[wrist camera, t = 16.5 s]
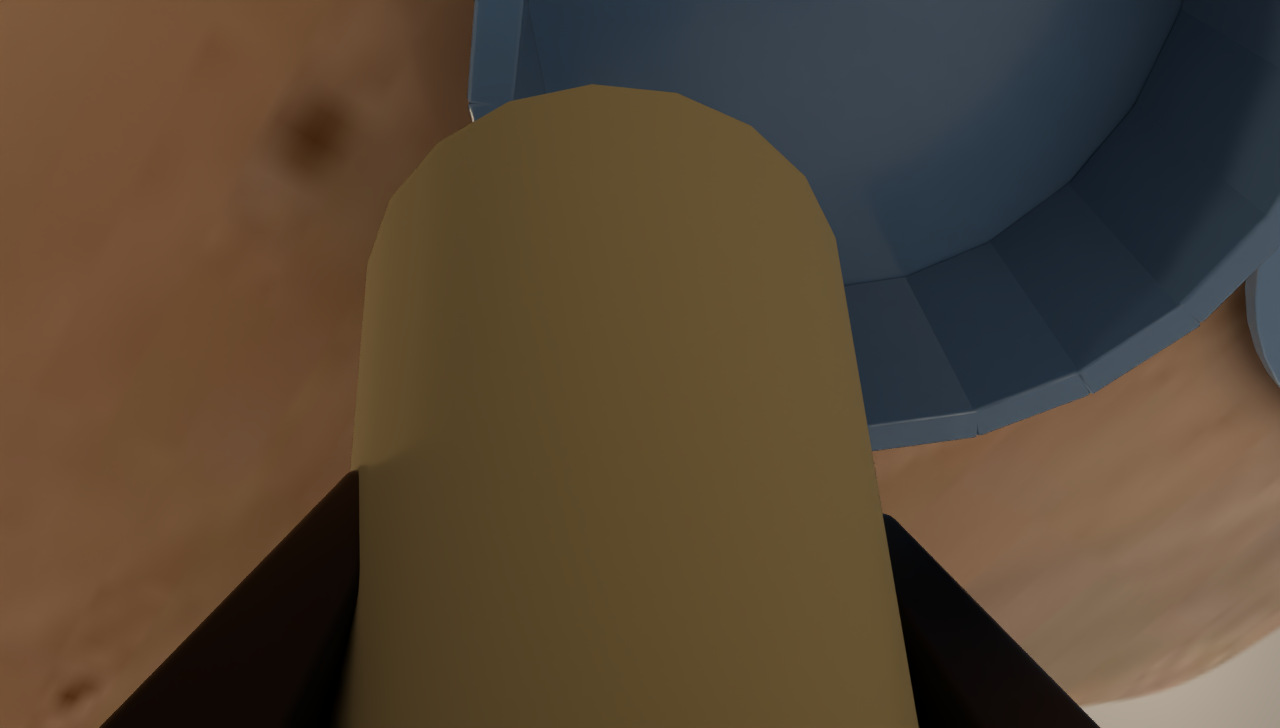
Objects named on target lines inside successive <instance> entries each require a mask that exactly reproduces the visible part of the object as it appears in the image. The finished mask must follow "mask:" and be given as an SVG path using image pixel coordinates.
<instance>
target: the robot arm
mask: <svg viewBox="0 0 1280 728" xmlns="http://www.w3.org/2000/svg"><path fill="white" fill-rule="evenodd" d="M883 520H884V526H885V532H886V538H887V543H888V549H889V555H890V561H891V567H892V573H893V579H894V585H895V591H896V597H897V602H898V608H899V614H900V620H901V626H902V632H903V638H904V644H905V650H906V655H907V661H908V667H909V673H910V679H911V685H912V691H913V697H914V703H915V709H916V714H917V720H918V726H919V728H1100V727H1099V726H1098V725H1097V724H1096V723H1095V722H1094V721H1093V720H1092V719H1091V718H1090V717H1089V716H1088V715H1087V714H1086V713H1085V712H1084V711H1083V710H1082V709H1081V708H1080V707H1079V706H1078V705H1077V704H1076V703H1075V702H1074V701H1073V700H1072V699H1071V698H1070V696H1069V695H1068V694H1067V693H1066V692H1065V691H1064V690H1063V689H1062V688H1061V687H1060V686H1059V685H1058V684H1057V683H1056V682H1055V681H1054V680H1053V679H1052V678H1051V677H1050V676H1049V675H1048V674H1047V673H1046V672H1045V671H1044V670H1043V669H1042V668H1041V667H1040V666H1039V665H1038V664H1037V663H1036V662H1035V661H1034V660H1033V659H1032V658H1031V657H1030V656H1029V655H1028V654H1027V653H1026V652H1025V651H1024V650H1023V649H1022V648H1021V647H1020V646H1019V645H1018V644H1017V643H1016V642H1015V641H1014V640H1013V639H1012V638H1011V637H1010V636H1009V635H1008V634H1007V633H1006V632H1005V630H1004V629H1003V628H1002V627H1001V626H1000V625H999V624H998V623H997V622H996V621H995V620H994V619H993V618H992V617H991V616H990V615H989V614H988V613H987V612H986V611H985V610H984V609H983V608H982V607H981V606H980V605H979V604H978V603H977V602H976V601H975V600H974V599H973V598H972V597H971V596H970V595H969V594H968V593H967V592H966V591H965V590H964V589H963V588H962V587H961V586H960V585H959V584H958V583H957V582H956V581H955V580H954V579H953V578H952V577H951V576H950V575H949V574H948V573H947V572H946V571H945V570H944V569H943V568H942V567H941V566H940V564H939V563H938V562H937V561H936V560H935V559H934V558H933V557H932V556H931V555H930V554H929V553H928V552H927V551H926V550H925V549H924V548H923V547H922V546H921V545H920V544H919V543H918V542H917V541H916V540H915V539H914V538H913V537H912V536H911V535H910V534H909V533H908V532H907V531H906V530H905V529H904V528H903V527H902V526H901V525H900V524H899V523H898V522H897V521H896V520H895V519H894V518H892V517H891V516H889V515H886V514H883ZM359 576H360V534H359V471H358V470H353V471H351V472H349V473H348V474H346V475H345V476H344V477H343V478H342V480H341V481H340V482H339V483H338V484H337V485H336V486H335V487H334V488H333V489H332V490H331V491H330V492H329V493H328V494H327V495H326V496H325V497H324V498H323V499H322V500H321V501H320V502H319V503H318V504H317V505H316V506H315V507H314V508H313V509H312V510H311V511H310V512H309V513H308V514H307V515H306V516H305V517H304V518H303V519H302V521H301V522H300V523H299V524H298V525H297V526H296V527H295V528H294V529H293V530H292V531H291V532H290V533H289V534H288V535H287V536H286V537H285V538H284V539H283V540H282V541H281V542H280V543H279V544H278V545H277V546H276V547H275V548H274V549H273V550H272V551H271V552H270V553H269V554H268V555H267V556H266V557H265V558H264V559H263V560H262V562H261V563H260V564H259V565H258V566H257V567H256V568H255V569H254V570H253V571H252V572H251V573H250V574H249V575H248V576H247V577H246V578H245V579H244V580H243V581H242V582H241V583H240V584H239V585H238V586H237V587H236V588H235V589H234V590H233V591H232V592H231V593H230V594H229V595H228V596H227V597H226V598H225V599H224V600H223V601H222V602H221V604H220V605H219V606H218V607H217V608H216V609H215V610H214V611H213V612H212V613H211V614H210V615H209V616H208V617H207V618H206V619H205V620H204V621H203V622H202V623H201V624H200V625H199V626H198V627H197V628H196V629H195V630H194V631H193V632H192V633H191V634H190V635H189V636H188V637H187V638H186V639H185V640H184V641H183V642H182V643H181V645H180V646H179V647H178V648H177V649H176V650H175V651H174V652H173V653H172V654H171V655H170V656H169V657H168V658H167V659H166V660H165V661H164V662H163V663H162V664H161V665H160V666H159V667H158V668H157V669H156V670H155V671H154V672H153V673H152V674H151V675H150V676H149V677H148V678H147V679H146V680H145V681H144V682H143V683H142V684H141V685H140V687H139V688H138V689H137V690H136V691H135V692H134V693H133V694H132V695H131V696H130V697H129V698H128V699H127V700H126V701H125V702H124V703H123V704H122V705H121V706H120V707H119V708H118V709H117V710H116V711H115V712H114V713H113V714H112V715H111V716H110V717H109V718H108V719H107V720H106V721H105V722H104V723H103V724H102V725H101V726H100V727H99V728H329V721H330V716H331V712H332V707H333V703H334V698H335V694H336V690H337V685H338V681H339V676H340V672H341V668H342V663H343V659H344V654H345V650H346V646H347V641H348V637H349V633H350V628H351V624H352V619H353V615H354V611H355V606H356V602H357V597H358V590H359Z"/></svg>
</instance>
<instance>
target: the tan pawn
mask: <svg viewBox="0 0 1280 728" xmlns="http://www.w3.org/2000/svg"><path fill="white" fill-rule="evenodd" d="M353 470H358V471H359V534H360V576H359V590H358V597H357V602H356V606H355V611H354V615H353V619H352V624H351V628H350V633H349V637H348V641H347V646H346V650H345V654H344V659H343V663H342V668H341V672H340V676H339V681H338V685H337V690H336V694H335V698H334V703H333V707H332V712H331V716H330V721H329V728H919V726H918V720H917V714H916V709H915V703H914V697H913V691H912V685H911V679H910V673H909V667H908V661H907V655H906V650H905V644H904V638H903V632H902V626H901V620H900V614H899V608H898V602H897V597H896V591H895V585H894V579H893V573H892V567H891V561H890V555H889V549H888V543H887V538H886V532H885V526H884V520H883V514H882V508H881V502H880V496H879V490H878V485H877V479H876V473H875V467H874V461H873V455H872V449H871V443H870V437H869V431H868V426H867V420H866V414H865V408H864V402H863V396H862V390H861V384H860V378H859V372H858V367H857V361H856V355H855V349H854V343H853V337H852V331H851V325H850V319H849V314H848V308H847V302H846V296H845V290H844V284H843V278H842V272H841V266H840V260H839V255H838V249H837V243H836V238H835V236H834V234H833V231H832V229H831V227H830V225H829V223H828V221H827V219H826V217H825V215H824V213H823V211H822V209H821V207H820V205H819V203H818V201H817V199H816V197H815V195H814V193H813V191H812V189H811V187H810V185H809V183H808V181H807V179H806V177H805V176H804V175H803V174H802V173H801V172H800V171H799V170H798V169H797V168H796V167H795V166H794V165H792V164H791V163H790V162H789V161H788V160H787V159H786V158H785V157H784V156H783V155H782V154H781V153H780V152H779V151H777V150H776V149H775V148H774V147H773V146H772V145H771V144H770V143H769V142H768V141H767V140H766V139H765V138H764V137H763V136H761V135H760V134H759V133H758V132H757V131H756V130H755V129H754V128H753V127H752V126H751V125H748V124H746V123H744V122H741V121H739V120H737V119H735V118H732V117H730V116H728V115H726V114H723V113H721V112H719V111H717V110H714V109H712V108H710V107H708V106H705V105H703V104H701V103H699V102H696V101H694V100H692V99H690V98H687V97H685V96H683V95H681V94H678V93H673V92H663V91H654V90H644V89H634V88H625V87H615V86H605V85H596V84H591V85H586V86H581V87H576V88H571V89H567V90H562V91H557V92H552V93H547V94H542V95H538V96H533V97H528V98H523V99H518V100H514V101H509V102H507V103H505V104H504V105H502V106H500V107H498V108H497V109H495V110H493V111H492V112H490V113H488V114H486V115H485V116H483V117H481V118H479V119H478V120H476V121H474V122H472V123H471V124H469V125H467V126H466V127H464V128H462V129H460V130H459V131H457V132H455V133H453V134H452V135H450V136H448V137H446V138H445V139H443V140H441V141H439V142H438V143H437V145H436V146H435V147H434V148H433V149H432V150H431V152H430V153H429V154H428V155H427V156H426V157H425V159H424V160H423V161H422V162H421V163H420V164H419V166H418V167H417V168H416V169H415V170H414V171H413V173H412V174H411V175H410V176H409V177H408V179H407V180H406V181H405V182H404V183H403V184H402V186H401V187H400V188H399V189H398V190H397V191H396V193H395V194H394V195H393V196H392V197H391V198H390V201H389V204H388V206H387V209H386V212H385V215H384V218H383V221H382V224H381V226H380V229H379V232H378V235H377V238H376V241H375V244H374V246H373V249H372V252H371V255H370V258H369V261H368V263H367V275H366V287H365V299H364V311H363V323H362V336H361V348H360V360H359V372H358V384H357V396H356V408H355V420H354V432H353V444H352V456H351V468H350V472H351V471H353Z"/></svg>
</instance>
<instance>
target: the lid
mask: <svg viewBox="0 0 1280 728" xmlns="http://www.w3.org/2000/svg"><path fill="white" fill-rule="evenodd" d="M1245 297H1246V311H1247V321H1248V325H1249V329H1250V332H1251V336H1252V340H1253V343H1254V347H1255V350H1256V352H1257V354H1258V356H1259V358H1260V360H1261V361H1262V363H1263V365H1264V367H1265V369H1266V371H1267V373H1268V374H1269V376H1270V377H1271V378H1272V379H1273V380H1274V382H1275V383H1276V384H1277V385H1278V386H1279V388H1280V247H1279V248H1278V249H1277V250H1276V251H1275V252H1273V253H1272V254H1271V255H1270V256H1269V257H1268V258H1267V259H1266V260H1265V261H1264V262H1263V263H1262V264H1261V265H1260V266H1259V267H1258V268H1257V269H1256V270H1255V271H1254V272H1253V273H1252V274H1251V275H1250V276H1249V277H1248V278H1247V279H1246V281H1245Z"/></svg>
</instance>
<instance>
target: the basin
mask: <svg viewBox="0 0 1280 728" xmlns="http://www.w3.org/2000/svg"><path fill="white" fill-rule="evenodd" d="M591 84H596V85H605V86H615V87H625V88H634V89H644V90H654V91H663V92H673V93H678V94H681V95H683V96H685V97H687V98H690V99H692V100H694V101H696V102H699V103H701V104H703V105H705V106H708V107H710V108H712V109H714V110H717V111H719V112H721V113H723V114H726V115H728V116H730V117H732V118H735V119H737V120H739V121H741V122H744V123H746V124H748V125H751V126H752V127H753V128H754V129H755V130H756V131H757V132H758V133H759V134H760V135H761V136H763V137H764V138H765V139H766V140H767V141H768V142H769V143H770V144H771V145H772V146H773V147H774V148H775V149H776V150H777V151H779V152H780V153H781V154H782V155H783V156H784V157H785V158H786V159H787V160H788V161H789V162H790V163H791V164H792V165H794V166H795V167H796V168H797V169H798V170H799V171H800V172H801V173H802V174H803V175H804V176H805V177H806V179H807V181H808V183H809V185H810V187H811V189H812V191H813V193H814V195H815V197H816V199H817V201H818V203H819V205H820V207H821V209H822V211H823V213H824V215H825V217H826V219H827V221H828V223H829V225H830V227H831V229H832V231H833V234H834V236H835V238H836V243H837V249H838V255H839V260H840V266H841V272H842V278H843V284H844V290H845V296H846V302H847V308H848V314H849V319H850V325H851V331H852V337H853V343H854V349H855V355H856V361H857V367H858V372H859V378H860V384H861V390H862V396H863V402H864V408H865V414H866V420H867V426H868V431H869V437H870V443H871V449H872V451H878V450H885V449H892V448H900V447H907V446H914V445H922V444H929V443H936V442H943V441H951V440H958V439H965V438H973V437H976V436H977V434H978V435H983V434H986V433H988V432H991V431H994V430H996V429H999V428H1002V427H1004V426H1007V425H1010V424H1013V423H1015V422H1018V421H1021V420H1023V419H1026V418H1029V417H1031V416H1034V415H1037V414H1039V413H1042V412H1045V411H1047V410H1050V409H1053V408H1056V407H1058V406H1061V405H1064V404H1066V403H1069V402H1072V401H1074V400H1077V399H1080V398H1082V397H1085V396H1087V395H1089V393H1092V394H1093V393H1095V392H1097V391H1098V390H1100V389H1102V388H1103V387H1105V386H1106V385H1108V384H1109V383H1111V382H1113V381H1114V380H1116V379H1117V378H1119V377H1120V376H1122V375H1124V374H1125V373H1127V372H1128V371H1130V370H1131V369H1133V368H1135V367H1136V366H1138V365H1139V364H1141V363H1142V362H1144V361H1146V360H1147V359H1149V358H1150V357H1152V356H1153V355H1155V354H1157V353H1158V352H1160V351H1161V350H1163V349H1164V348H1166V347H1168V346H1169V345H1171V344H1172V343H1174V342H1175V341H1177V340H1179V339H1180V338H1182V337H1183V336H1185V335H1186V334H1188V333H1190V332H1191V331H1193V330H1194V329H1196V328H1197V327H1199V326H1200V322H1203V321H1205V320H1206V319H1207V318H1208V317H1209V316H1210V315H1211V314H1212V313H1213V312H1214V311H1215V310H1216V309H1217V308H1218V307H1219V306H1220V305H1221V304H1222V303H1223V302H1224V301H1225V300H1226V299H1227V298H1228V297H1229V296H1230V295H1231V294H1232V293H1233V292H1234V291H1235V290H1236V289H1237V288H1238V287H1239V286H1240V285H1241V284H1242V283H1243V282H1244V281H1245V280H1246V279H1247V278H1248V277H1249V276H1250V275H1251V274H1252V273H1253V272H1254V271H1255V270H1256V269H1257V268H1258V267H1259V266H1260V265H1261V264H1262V263H1263V262H1264V261H1265V260H1266V259H1267V258H1268V257H1269V256H1270V255H1271V254H1272V253H1273V252H1275V251H1276V250H1277V249H1278V248H1279V247H1280V0H474V11H473V25H472V38H471V52H470V65H469V78H468V92H467V99H468V101H469V105H468V109H469V113H470V117H471V121H472V122H474V121H476V120H478V119H479V118H481V117H483V116H485V115H486V114H488V113H490V112H492V111H493V110H495V109H497V108H498V107H500V106H502V105H504V104H505V103H507V102H509V101H514V100H518V99H523V98H528V97H533V96H538V95H542V94H547V93H552V92H557V91H562V90H567V89H571V88H576V87H581V86H586V85H591Z"/></svg>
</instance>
